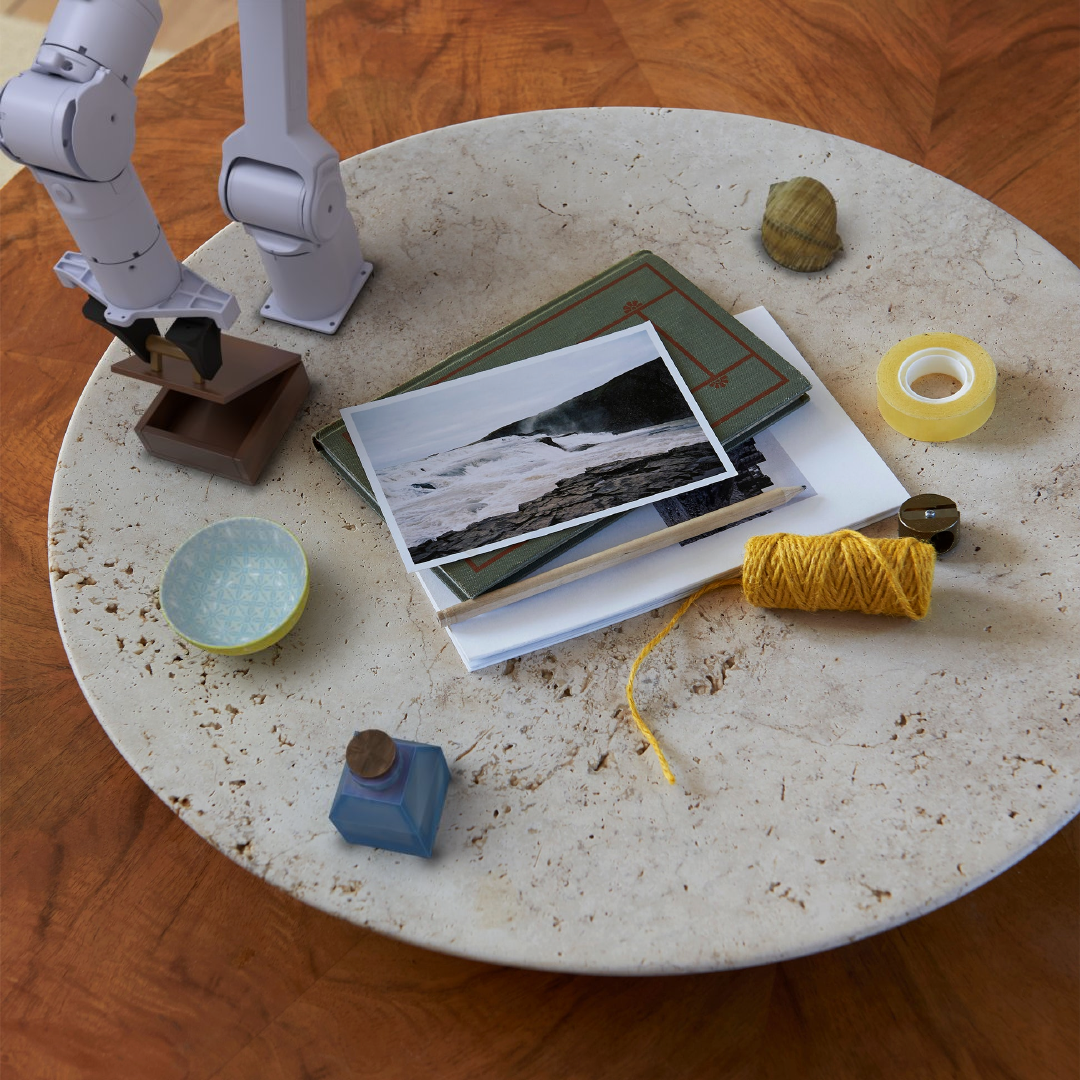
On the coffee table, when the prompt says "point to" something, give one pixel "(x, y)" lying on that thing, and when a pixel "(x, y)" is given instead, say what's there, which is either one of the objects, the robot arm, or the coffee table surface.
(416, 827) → the perfume bottle
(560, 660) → the coffee table surface
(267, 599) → the bowl
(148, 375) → the lid
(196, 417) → the box
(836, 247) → the seashell
